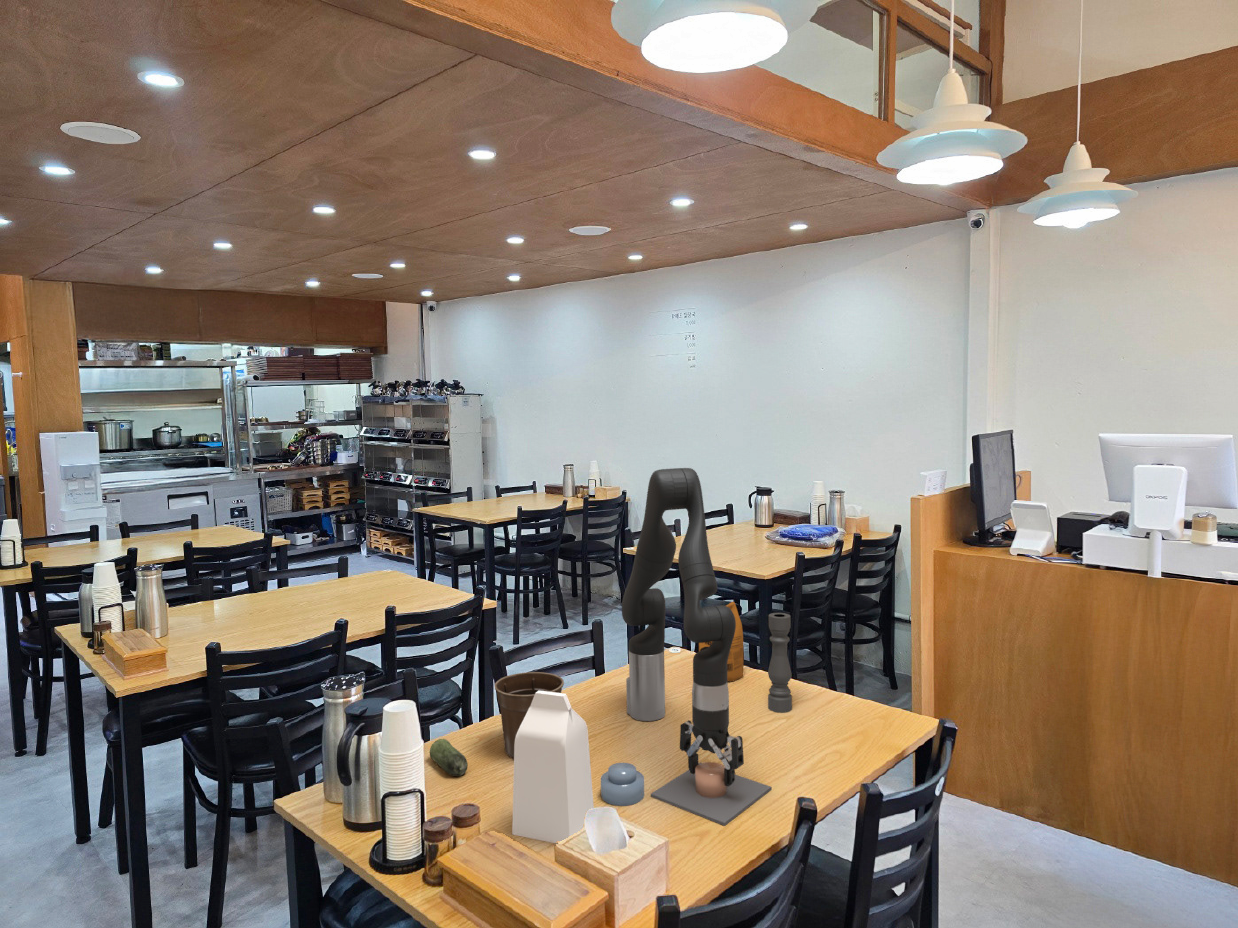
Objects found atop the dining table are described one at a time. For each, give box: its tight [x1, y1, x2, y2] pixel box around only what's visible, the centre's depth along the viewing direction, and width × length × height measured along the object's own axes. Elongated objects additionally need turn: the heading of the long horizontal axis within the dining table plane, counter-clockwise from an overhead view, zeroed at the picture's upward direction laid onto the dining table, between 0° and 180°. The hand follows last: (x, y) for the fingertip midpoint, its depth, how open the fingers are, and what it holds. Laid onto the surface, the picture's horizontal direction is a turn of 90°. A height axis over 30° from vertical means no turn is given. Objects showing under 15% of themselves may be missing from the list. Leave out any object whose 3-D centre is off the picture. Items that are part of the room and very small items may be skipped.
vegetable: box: [429, 738, 468, 777], centre depth 173 cm, size 14×5×5 cm, turn 35°
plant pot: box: [494, 671, 565, 759], centre depth 181 cm, size 16×16×16 cm
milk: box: [511, 691, 595, 844], centre depth 148 cm, size 12×12×26 cm
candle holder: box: [767, 612, 793, 714], centre depth 203 cm, size 6×6×25 cm
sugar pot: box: [600, 762, 645, 807], centre depth 159 cm, size 9×9×6 cm
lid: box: [695, 761, 727, 798], centre depth 159 cm, size 6×6×4 cm
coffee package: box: [698, 601, 744, 683], centre depth 227 cm, size 10×12×22 cm
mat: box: [650, 761, 772, 827], centre depth 159 cm, size 18×18×1 cm
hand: (711, 778), depth 159 cm, fingers open, 8 cm apart
